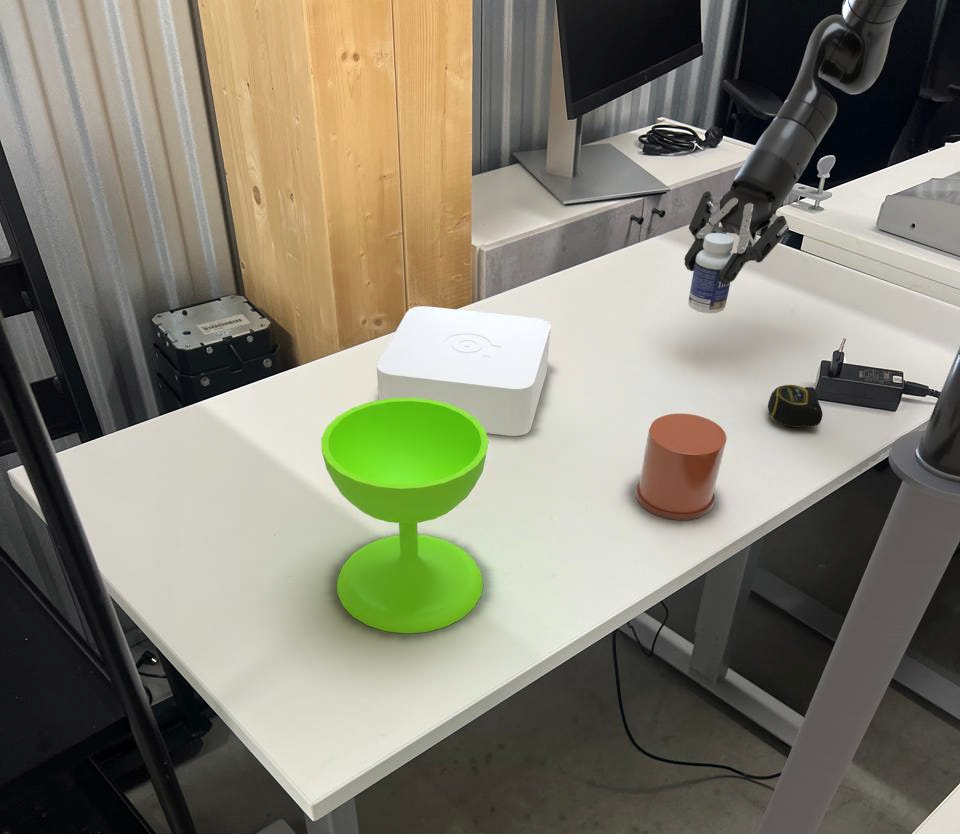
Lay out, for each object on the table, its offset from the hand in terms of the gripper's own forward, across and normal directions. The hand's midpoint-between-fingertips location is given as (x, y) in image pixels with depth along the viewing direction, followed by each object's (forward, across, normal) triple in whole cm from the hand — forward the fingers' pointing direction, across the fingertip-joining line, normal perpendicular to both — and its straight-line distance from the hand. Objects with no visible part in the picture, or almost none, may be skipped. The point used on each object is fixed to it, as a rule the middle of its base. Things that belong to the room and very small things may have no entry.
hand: (705, 274), depth 129 cm
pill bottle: (+3, 0, +5) cm, 6 cm away
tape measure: (+11, +20, +9) cm, 24 cm away
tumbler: (+30, +20, -11) cm, 38 cm away
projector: (+31, -16, -12) cm, 37 cm away
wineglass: (+55, +12, -36) cm, 66 cm away
